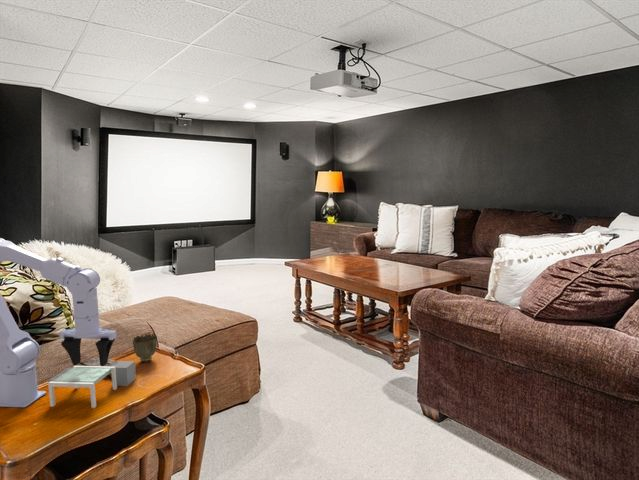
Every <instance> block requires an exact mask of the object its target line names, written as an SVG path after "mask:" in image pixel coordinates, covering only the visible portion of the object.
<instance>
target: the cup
mask: <svg viewBox="0 0 639 480" xmlns="http://www.w3.org/2000/svg"><path fill="white" fill-rule="evenodd" d="M131 340H132V344H133V349H134V353H135V356H136V357H138V358H139V360H140V362H142V363H147V362H148V363H149V362H151V361H152V359H153V355H155V353H156V351H157V344H158V336H157V334H154V333H153V334H151V333H148V334H147V333H145V335H143V334H141V336H140V335H136V337H133V339H131Z"/></svg>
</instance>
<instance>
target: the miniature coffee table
mask: <svg viewBox="0 0 639 480" xmlns="http://www.w3.org/2000/svg"><path fill="white" fill-rule="evenodd" d="M73 367H75V368H109V369H111V373H112V377H111V384H112V391H113V390H114V391H115V390H117V389H118V386H117V381H116V367H110V366H91V365H76V366H75V365H72V368H73ZM47 384H48V394H49V404H50V407H55V406H56V396H55V395H56V394H55V388H56V387H58V388H74V389H75V390H76V389H80V388H84V389H85V388H87V389H88V388H89V392H90V403H91V404H90V405H91V408H92V409H95V408H96V407H97V399H96V398H97V397H96V396H97V395H96V384H95V383H90V382H54V381H50V382H49V383H47Z"/></svg>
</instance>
